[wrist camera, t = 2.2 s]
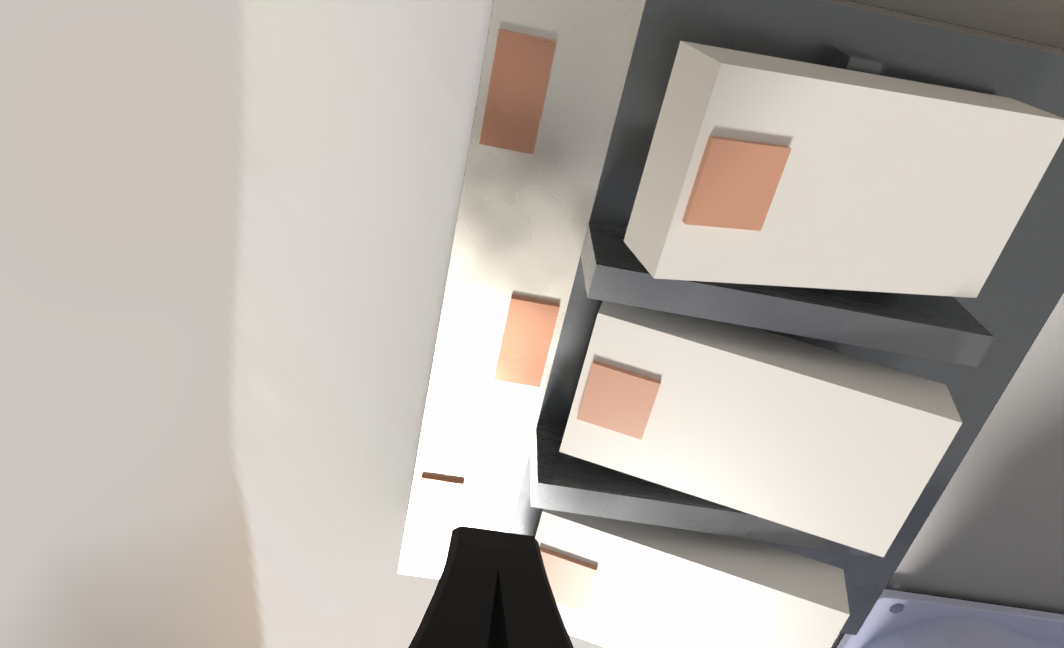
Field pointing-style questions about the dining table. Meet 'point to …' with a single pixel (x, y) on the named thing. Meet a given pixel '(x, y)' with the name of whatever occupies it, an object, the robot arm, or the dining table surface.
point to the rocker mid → (759, 423)
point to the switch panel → (618, 276)
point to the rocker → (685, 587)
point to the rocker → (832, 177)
